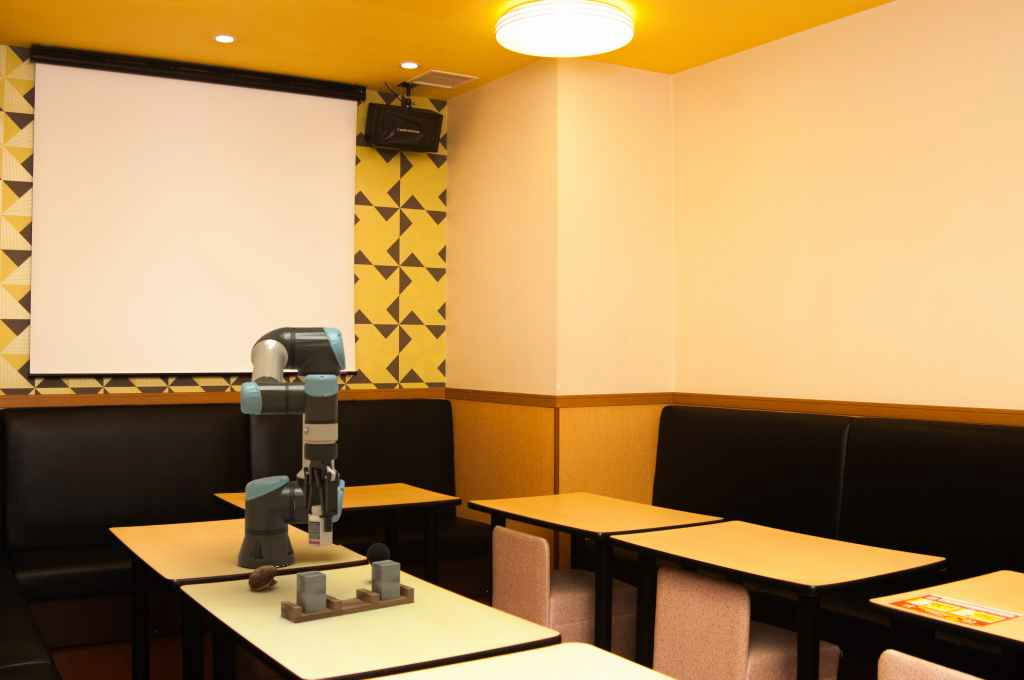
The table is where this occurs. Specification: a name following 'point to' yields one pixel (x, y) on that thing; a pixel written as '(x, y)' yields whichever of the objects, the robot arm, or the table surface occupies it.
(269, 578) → the mushroom
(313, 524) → the pill bottle
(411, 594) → the rail
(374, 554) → the black round piece
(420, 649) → the table surface
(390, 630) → the table surface
